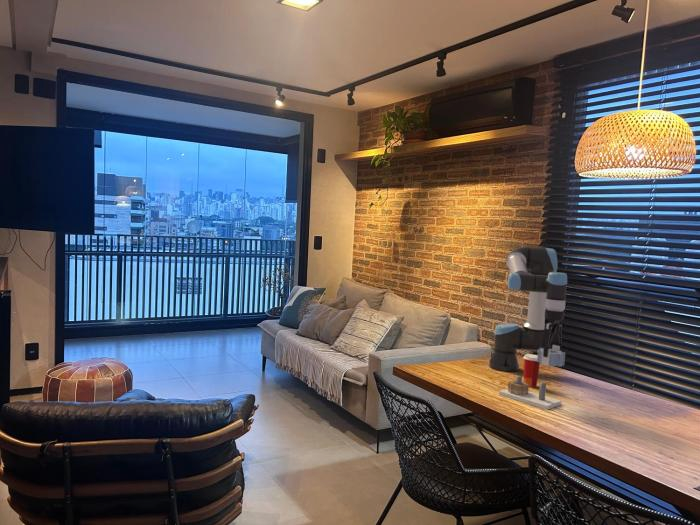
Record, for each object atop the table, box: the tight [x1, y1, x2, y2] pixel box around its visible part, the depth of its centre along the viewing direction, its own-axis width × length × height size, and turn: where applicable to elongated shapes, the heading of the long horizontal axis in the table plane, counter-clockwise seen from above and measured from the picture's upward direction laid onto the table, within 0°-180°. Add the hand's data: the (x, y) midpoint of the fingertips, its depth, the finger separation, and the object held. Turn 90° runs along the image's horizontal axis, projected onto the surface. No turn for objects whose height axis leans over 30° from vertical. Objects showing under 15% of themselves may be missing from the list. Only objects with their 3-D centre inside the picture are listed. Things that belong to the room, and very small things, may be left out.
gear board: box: [498, 375, 562, 411], centre depth 217 cm, size 12×22×8 cm, turn 41°
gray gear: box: [537, 348, 566, 367], centre depth 212 cm, size 10×10×5 cm
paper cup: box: [522, 353, 541, 388], centre depth 238 cm, size 8×8×14 cm
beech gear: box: [507, 380, 530, 395], centre depth 221 cm, size 8×8×4 cm
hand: (550, 362), depth 213 cm, fingers closed on gray gear, 10 cm apart
